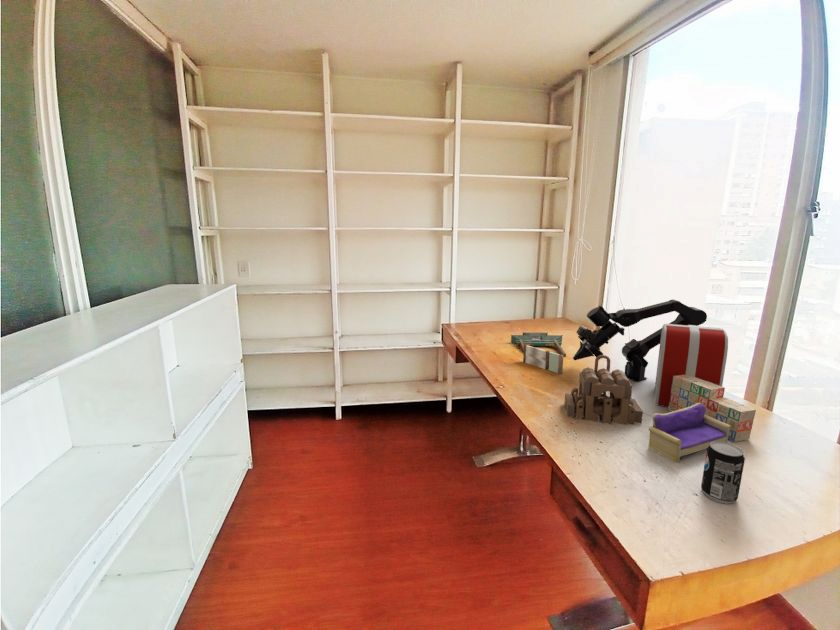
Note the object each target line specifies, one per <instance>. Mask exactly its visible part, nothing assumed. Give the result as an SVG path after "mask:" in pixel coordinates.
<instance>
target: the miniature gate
mask: <svg viewBox="0 0 840 630" xmlns="http://www.w3.org/2000/svg"><path fill="white" fill-rule="evenodd" d="M548 333H549V332H548V331H547V332H528V331H527V332H523V331H522V334H510V336H511V337H510V344H511V343H513V345H516V346H520V349H521V351H522V352H523V353H524V345H528V346H532V347H535V346H542V347H543V346H544V347H548V346H549V347H552V348H555V349H556V350H557V352H558V354H560V355H563V358H566V357H567V353H566V352H565V351H564V349H563V348H562V347H561V346H562V344H563V336H564V335H562V334H560V335H559V334H558V335H554V334H553V335H550V334H548Z"/></svg>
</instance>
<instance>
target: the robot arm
mask: <svg viewBox="0 0 840 630" xmlns="http://www.w3.org/2000/svg"><path fill="white" fill-rule="evenodd" d="M673 312H676V313H678V315H677V316H676V318H675V319H674V320H672V321H671V322H669V323H668V324H676V325H696V326H701V325H703V324H704V323H705V322H706V321H707V317H708V315H707V312H706V311H704V310H703V309H699V308H697V307H694V306H689V305H686V304H684V303H682V302H681V301H679V300H676V299H670V300H668V301H663V302H660V303H656V304H652V305H647V306H644V307H640V308H627V309H626V308H625V309H620V310H617V311H616V312H607V311H606V310H605V308H604V307H603V306H602V305H598V306H597V307H595V308H592V309H591V310H590V311H588V313H587V314H586V317H587V319H589V321H590V322H591V323H593V325H594V326H595V327H599V329H593V330H591V329H589V328H586V327H584V326H582V325H579V326H578V329H577V330H576V334H577V338H578V339H579V340H580V341H579V348H578V349H577V351H576V353H575V354H574V355H573V357H572V359H573V360H574V361H578V360H581V359H585V358H589V357H590V358H591V357H595V358H596V357H597V356H599V355H604V353H603V352H602V350H601V347H603V345H605V344H606V345H609V341H610V340H611V339H612V338H613V337H615V336H616V335H618V334H619V335H621V336H625V328H628V327H631V326H634V325H636V324H638V323H639V322H640V321H643V320H645V319H649V318H653V317H657V316H661V315H665V314H670V313H673ZM619 325H620V326H621V327H620V326H619ZM624 327H625V328H624ZM661 332H662V327H661V328H660V329H658V330H656V331H654V332H653V333H651V334H649V335H648V336H646V337H645V338H642V339H641V340H636V339H635V338H633V339H631V340H629V341H628V342H627V343H624V346H622V348H621V354H622V356H623V357H624V358H625V361H626V364H625V365H624V374H625V376H626V377H627V378H628V380H631V381H633V382H636V383H637V382H641V381H644V380H647V379H648V378H647V377H645V375H646V368H647V366H648V364H649V362H648V360H646V359H645V357H646V356H647V355H648V353H649V352H650V350H652V349H653V348H655V347H657V346H660V340H661ZM601 359H602V358H600V359H599V361H600V360H601Z"/></svg>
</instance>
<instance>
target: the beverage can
mask: <svg viewBox="0 0 840 630" xmlns="http://www.w3.org/2000/svg"><path fill="white" fill-rule="evenodd" d="M704 458H705V459H704V466H703V471H702V479H701V485H700V487H701V491H702V492H703V493H704V495H706V497H708V499H709V498H710V499H711V500H712V501H714V502H717V503H721V504H728V505H729V504H732V503H735V502H737V501H738V499H739V494H740V489H741V483H742V478H743V471H744V466H745V461H746V460H745V459H746V458H745V456H744V451H743V449H741V448H740V447H738V445H737V446H736V445H735V444H733V443H729V442H727V443H726V442H721V441H714V442H711V443H710V446H709V447H708V448H706V453H705V457H704Z"/></svg>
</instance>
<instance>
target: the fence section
mask: <svg viewBox="0 0 840 630" xmlns="http://www.w3.org/2000/svg"><path fill="white" fill-rule="evenodd" d="M550 352H551V351H549V350H545V349H543V348H539V347H535V346H533V345H532V346H531V345H530V346H528V345H524V352H523V356H522V357H523V358H522V362H523V363H525V364H528V365H532V366H533V367H534V366H535V367H538V368H540V369H543V370H546V371H549V355H550Z"/></svg>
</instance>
